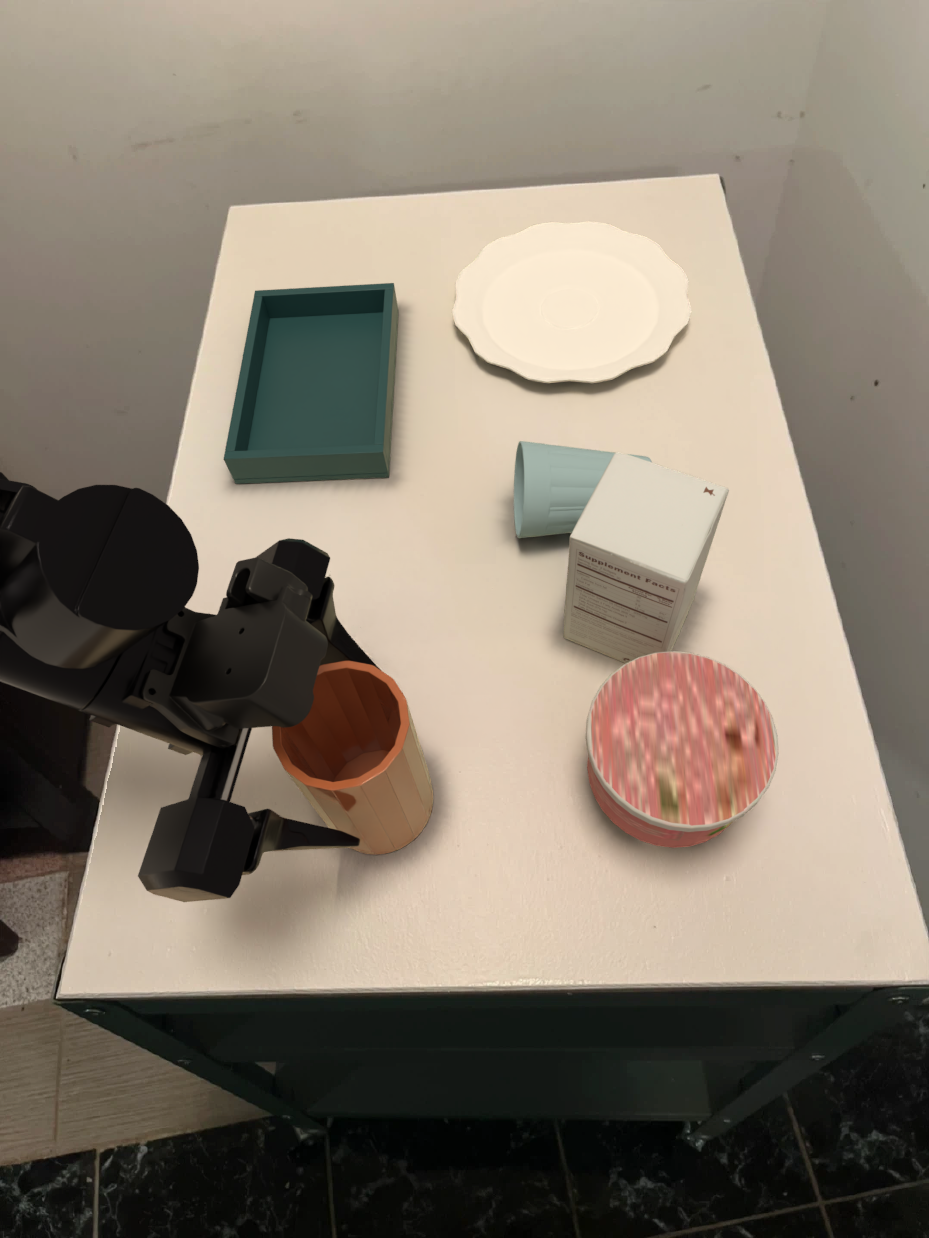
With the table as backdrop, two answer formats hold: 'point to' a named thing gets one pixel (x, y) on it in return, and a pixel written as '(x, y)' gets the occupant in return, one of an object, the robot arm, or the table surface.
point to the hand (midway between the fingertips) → (373, 763)
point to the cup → (554, 486)
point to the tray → (315, 386)
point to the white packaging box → (638, 557)
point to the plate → (571, 302)
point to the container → (678, 748)
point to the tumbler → (360, 758)
